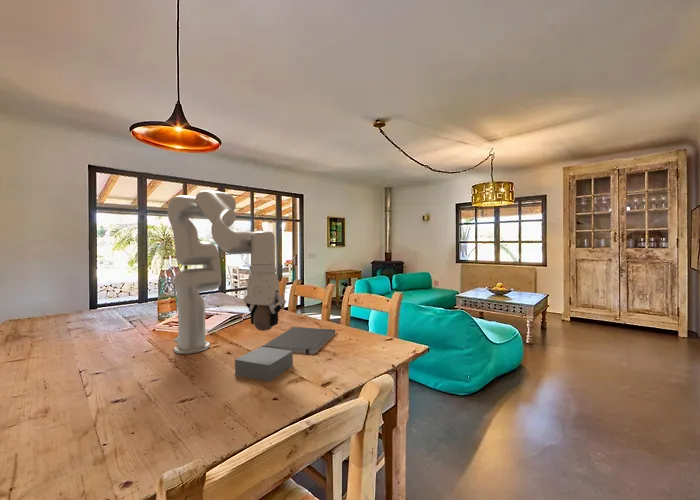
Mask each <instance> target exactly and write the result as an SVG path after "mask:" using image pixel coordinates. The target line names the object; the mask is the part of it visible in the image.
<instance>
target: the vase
mask: <svg viewBox="0 0 700 500" xmlns="http://www.w3.org/2000/svg"><path fill="white" fill-rule="evenodd" d="M271 313H272V312H271V309H270V307H269V306H261V305H259V306H258V308H257V309H256V310H255V312H254V316H253V322H254V324H253V325H254V327H255V329H257V330H258V331H260V332H261V331H263V332H264V331H270V330H271V329H272V328H274V326H271V325H270V314H271Z"/></svg>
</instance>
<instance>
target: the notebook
mask: <svg viewBox="0 0 700 500" xmlns="http://www.w3.org/2000/svg"><path fill="white" fill-rule="evenodd" d="M336 331H337V330H336V329H331V328H318V327H317V328H315V327H298V326H292V327H290V328H289V329H288V330H286V331H284V332H282V333H281V334H279V335H277V336H276V337H274V338H273V339H272V340H270V341H268V342H267V343H265V344H263V345H262V346H261V347H267V348H274V349H281V350H288V351H293V353H295V354H304V355H305V354H306V355H315V354H316V353H317V352H318V351H319V350H320V349H321V348H322V347H324V346H325V345H326V344H327V343H328V342H329V340H331V339H332V338H334V336H335V335H336Z"/></svg>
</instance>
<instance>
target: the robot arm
mask: <svg viewBox="0 0 700 500" xmlns="http://www.w3.org/2000/svg"><path fill="white" fill-rule="evenodd" d="M236 207H237V204H236V200H235V197H234V196H233V195H232V194H231V193H229V192H223V191H218V190H212V189H211V190H210V189H206V190H204V189H203V190H201V191H198V193H197V194H196V195H195V196H192V195H176V196H174V197H172V198H171V199H169V202H168V204H167V217H168V221H169V224H170V226H171V230H172V233H173V241H174V249H175V250H174V251H175V257H176V261H177V263H178V264H179V265H181V266H185V267H186V266H187V267H188V266H202V267H200V268H199V267H198V268H188V269H181V270H180V271H179V272H177V273H176V274H175V275H174V280H173V281H174V283H173V284H174V288H175V292H176V293H175V294H176V299H177V323H178V324H177V325H178V326H177V327H178V333H177V334H178V336H176V338H173V342H174V343H176V346H175V347H174V349H173V351H174V352H175V354H180V355H188V354H196V353H200V352H204V351H206V350H208V349H209V348H210V346H211V343H210V342H209V341H206V339H207V338H206V307H205V306H206V303H205V300H204V298H203V297H202V296H201V295H200V293H202V292H210V291H214V290H216V289H218V288H219V287H220V286H221V284H222V272H221V263H220V262H221V260H220V255H219V254H220V253H219V250H218V247H219V248H220V249H221V251H223V252H225V253H226V254H229V255H244V254H245V255H247V254H248V255H250V260H251V261H250V263H251V264H250V265H249V266H248V268H249V270H250V272H251V273H249V274H248V277H247V278H248V279H247V286H246V295H245V296H244V297H242V301H243V302H244V304H245V306H246V307H247V309H248V312H250V324H251V325H254V322H253V316H254V312H255V310H256V309H257V308H258V306H259V305H261V306H269V307H270V309H271V312H272V313H271V314H270V325H271V326H273V327H274V326H277V325H278V324H279V313H280V312H281V310H282V308H283V307H284V305H285V304H286V303H287V300H286V299H285V298H284V297H283V296H282V295H281V294H280V293H281V292H280V284H279V277H278V273H276V236H275V233H274V232H272V231H248V230H247V231H243V230H242V231H240V230H232V229H231V228H230V227H232V226H233V224H234V223H235V221H236V219H237V218H236V217H237V216H236V212H235V210H236ZM190 219H198V220H209V222H210V223H211V236H212V240H213V241H214V242H215V243H213V242H210V241H200V240H199V235H198V230H197V227H196V226H195V224H194V223H193V222H192V221H191V220H190ZM215 244H216V245H217V246H218V247H217V246H216V245H215Z"/></svg>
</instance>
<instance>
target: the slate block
mask: <svg viewBox="0 0 700 500" xmlns="http://www.w3.org/2000/svg"><path fill="white" fill-rule="evenodd" d="M293 356H294V355H293V351H288V350H281V349H274V348H267V347H262V346H260V347H258V348H256V349H253V350H252V351H249V352H248V353H245V354H243V355H242V356H239V357H237V358H235V359H234V376H238V377H242V378H248V379H253V380H259V381H264V382H269V383H270V382H272V381H273V380H274V379H275V378H277V377H279V376H281V375H282V374H283V373H284V372H286V371H287V370H290V368H292V367H293V364H294V362H293V359H294V358H293Z"/></svg>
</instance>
